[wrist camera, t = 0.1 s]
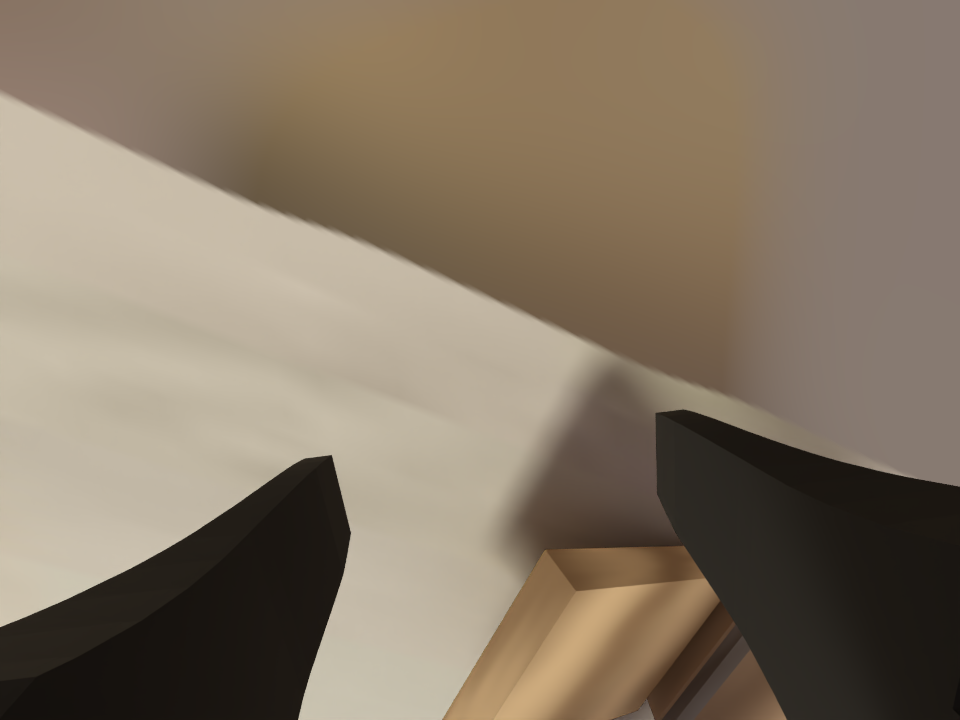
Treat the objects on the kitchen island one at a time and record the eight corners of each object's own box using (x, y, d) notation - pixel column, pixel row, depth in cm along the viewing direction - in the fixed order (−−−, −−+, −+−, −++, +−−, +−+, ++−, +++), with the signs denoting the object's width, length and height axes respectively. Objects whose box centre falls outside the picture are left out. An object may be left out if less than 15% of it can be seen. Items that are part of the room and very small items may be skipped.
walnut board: (865, 608, 26) (908, 652, 23) (763, 726, 28) (793, 777, 26) (737, 556, 24) (768, 597, 22) (642, 684, 27) (660, 734, 24)
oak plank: (707, 545, 24) (739, 574, 23) (613, 676, 26) (637, 710, 25) (545, 549, 17) (576, 591, 16) (440, 722, 20) (459, 771, 18)
